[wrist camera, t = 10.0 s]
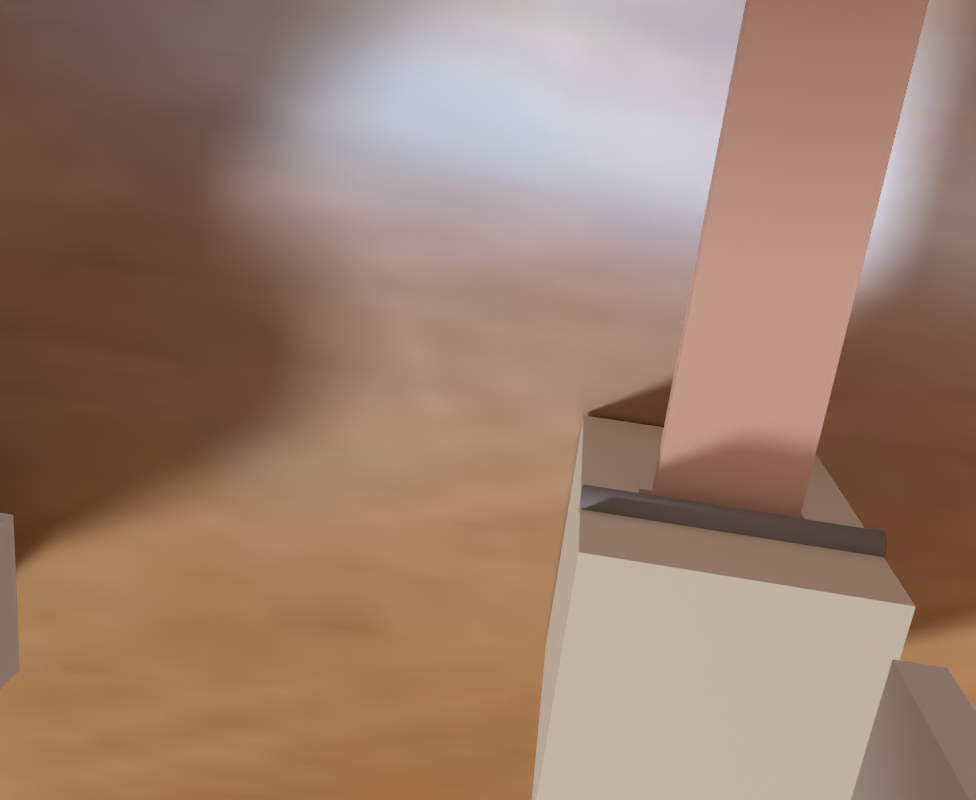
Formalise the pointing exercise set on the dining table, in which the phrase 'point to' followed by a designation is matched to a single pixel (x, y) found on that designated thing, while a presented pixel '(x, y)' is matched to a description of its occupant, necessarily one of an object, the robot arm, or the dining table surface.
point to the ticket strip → (783, 246)
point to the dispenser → (710, 639)
